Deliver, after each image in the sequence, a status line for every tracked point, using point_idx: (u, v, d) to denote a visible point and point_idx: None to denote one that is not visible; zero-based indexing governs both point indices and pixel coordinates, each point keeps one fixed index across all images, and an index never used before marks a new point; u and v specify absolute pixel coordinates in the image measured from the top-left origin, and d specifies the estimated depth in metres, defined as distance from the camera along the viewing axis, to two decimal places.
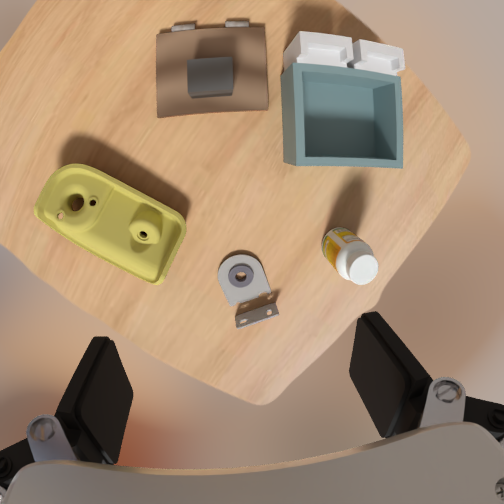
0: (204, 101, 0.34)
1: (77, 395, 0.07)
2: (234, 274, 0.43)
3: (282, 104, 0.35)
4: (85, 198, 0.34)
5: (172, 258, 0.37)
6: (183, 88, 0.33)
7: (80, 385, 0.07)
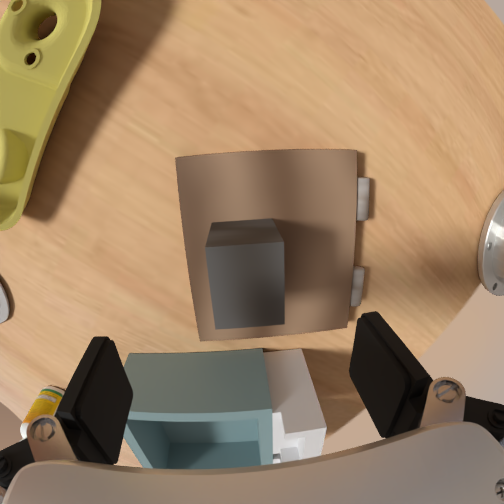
0: (206, 245, 0.20)
1: (78, 395, 0.07)
2: None
3: (213, 355, 0.24)
4: (41, 42, 0.12)
5: None
6: (233, 205, 0.20)
7: (80, 385, 0.07)
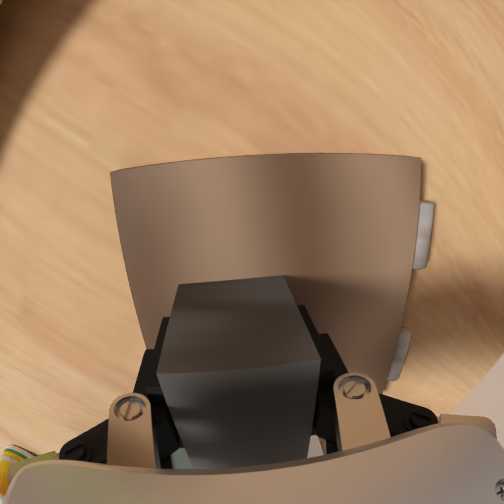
0: None
1: None
2: None
3: None
4: None
5: None
6: (214, 255, 0.11)
7: None
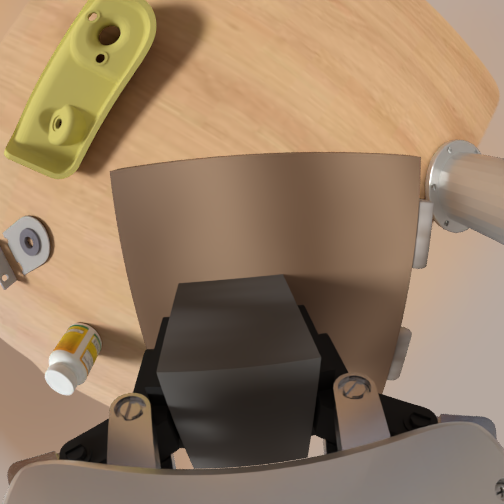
0: None
1: None
2: (29, 235, 0.29)
3: None
4: (108, 47, 0.21)
5: (27, 165, 0.23)
6: (214, 254, 0.11)
7: None
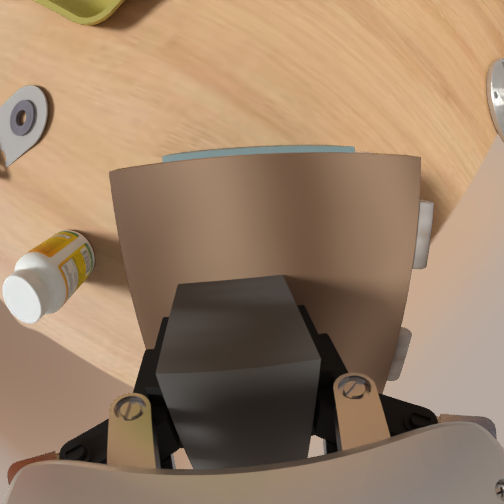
0: None
1: None
2: (23, 107, 0.19)
3: None
4: None
5: (48, 6, 0.13)
6: (214, 255, 0.11)
7: None
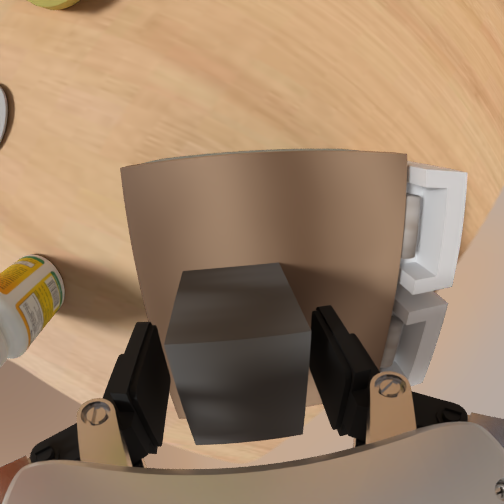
0: None
1: (131, 376, 0.08)
2: None
3: (280, 149, 0.18)
4: None
5: None
6: (216, 244, 0.12)
7: (132, 367, 0.08)
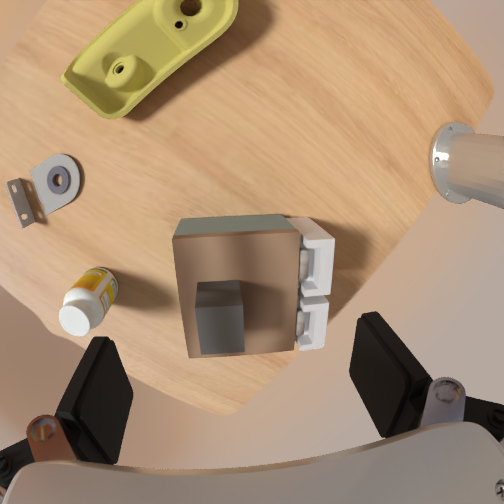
0: (193, 296, 0.29)
1: (77, 395, 0.07)
2: (59, 172, 0.30)
3: (247, 216, 0.35)
4: (188, 18, 0.24)
5: (80, 96, 0.24)
6: (212, 271, 0.29)
7: (80, 385, 0.07)
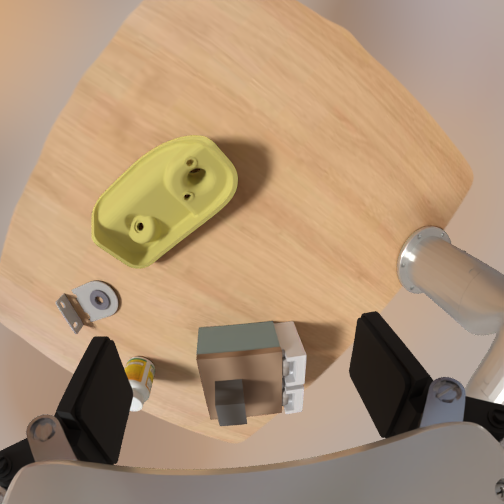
0: (212, 388, 0.42)
1: (77, 395, 0.07)
2: (100, 295, 0.43)
3: (247, 325, 0.47)
4: (195, 189, 0.36)
5: (111, 254, 0.37)
6: (224, 375, 0.41)
7: (80, 385, 0.07)
